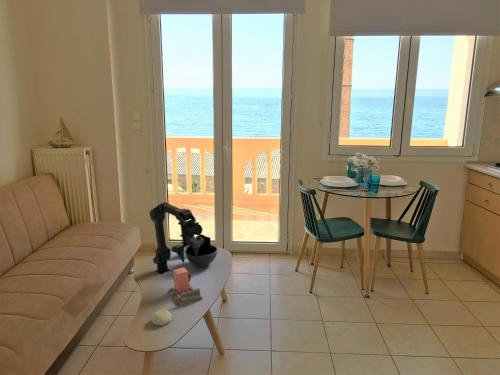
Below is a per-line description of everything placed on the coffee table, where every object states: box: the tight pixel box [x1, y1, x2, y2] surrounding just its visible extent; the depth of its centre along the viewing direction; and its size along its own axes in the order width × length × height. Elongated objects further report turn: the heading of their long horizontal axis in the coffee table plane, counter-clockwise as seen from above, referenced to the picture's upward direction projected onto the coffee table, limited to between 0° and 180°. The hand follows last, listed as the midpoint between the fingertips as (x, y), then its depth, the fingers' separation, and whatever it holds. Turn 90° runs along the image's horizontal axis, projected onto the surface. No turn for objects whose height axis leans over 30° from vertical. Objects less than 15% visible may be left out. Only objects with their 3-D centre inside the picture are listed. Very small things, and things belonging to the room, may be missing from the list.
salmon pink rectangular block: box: [172, 266, 190, 293], centre depth 204 cm, size 6×6×11 cm
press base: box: [167, 283, 203, 307], centre depth 201 cm, size 18×12×6 cm, turn 31°
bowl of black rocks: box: [185, 233, 218, 268], centre depth 237 cm, size 20×20×19 cm
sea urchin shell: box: [150, 309, 173, 326], centre depth 179 cm, size 9×8×8 cm
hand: (189, 259), depth 212 cm, fingers open, 9 cm apart
